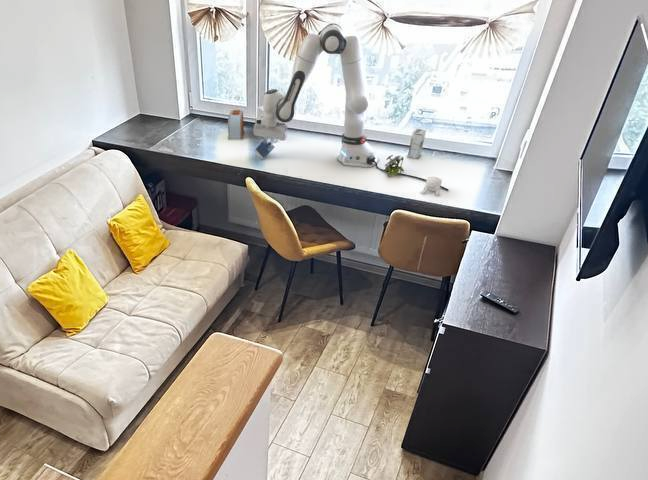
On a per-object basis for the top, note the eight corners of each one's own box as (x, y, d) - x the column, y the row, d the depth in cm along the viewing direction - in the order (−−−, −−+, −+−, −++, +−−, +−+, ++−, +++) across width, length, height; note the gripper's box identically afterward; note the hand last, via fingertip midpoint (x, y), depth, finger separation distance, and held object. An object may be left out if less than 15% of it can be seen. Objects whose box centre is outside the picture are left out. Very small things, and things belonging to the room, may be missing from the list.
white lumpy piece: (422, 192, 285) (420, 193, 272) (426, 175, 281) (424, 176, 269) (439, 194, 282) (437, 196, 269) (444, 177, 279) (442, 178, 266)
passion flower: (386, 180, 302) (389, 158, 301) (405, 180, 297) (409, 157, 295) (380, 175, 293) (383, 152, 291) (400, 175, 287) (404, 152, 286)
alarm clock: (231, 130, 354) (230, 109, 345) (244, 130, 353) (243, 109, 344) (228, 139, 344) (227, 117, 334) (241, 139, 342) (240, 117, 333)
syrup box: (411, 153, 314) (416, 128, 304) (421, 155, 311) (426, 130, 301) (407, 157, 311) (412, 131, 301) (417, 159, 308) (422, 133, 298)
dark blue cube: (266, 138, 317) (260, 146, 322) (261, 142, 312) (254, 150, 317) (274, 147, 318) (268, 154, 323) (269, 151, 313) (262, 159, 318)
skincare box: (278, 141, 337) (278, 115, 326) (270, 143, 336) (270, 116, 325) (264, 130, 352) (264, 105, 341) (256, 132, 350) (256, 106, 339)
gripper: (289, 121, 303) (288, 146, 312) (257, 116, 310) (257, 140, 320) (285, 125, 299) (283, 150, 308) (252, 120, 307) (252, 144, 316)
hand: (270, 145), depth 314 cm, fingers closed
